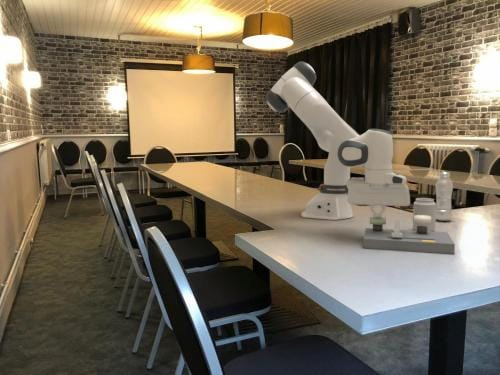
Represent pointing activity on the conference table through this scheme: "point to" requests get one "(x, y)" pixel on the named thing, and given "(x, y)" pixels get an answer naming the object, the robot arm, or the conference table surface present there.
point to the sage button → (378, 221)
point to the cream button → (422, 219)
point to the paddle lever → (397, 229)
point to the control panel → (408, 240)
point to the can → (424, 212)
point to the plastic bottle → (443, 197)
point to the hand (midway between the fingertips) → (377, 218)
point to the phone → (361, 205)
